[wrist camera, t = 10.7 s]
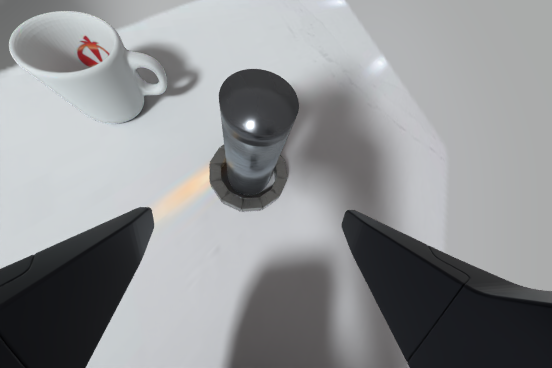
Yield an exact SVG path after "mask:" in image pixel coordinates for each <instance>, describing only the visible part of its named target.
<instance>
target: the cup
mask: <svg viewBox="0 0 552 368" xmlns="http://www.w3.org/2000/svg"><path fill="white" fill-rule="evenodd" d="M9 48H10V53H11V55H12V57H13V58H14V60H15V61H16V62H17V64H18V65H19V66H21V67H22V68H23V69H24V70H25V71H27V72H28V73H29V74H31V75H32V76H33V77H35V78H36V79H37V80H39V81H40V82H41V83H43V84H44V85H46V86H47V87H48V88H50V89H51V90H52V91H54V92H55V93H56V94H58V95H59V96H60V97H62V98H63V99H64V100H66V101H67V102H68V103H70V104H71V105H72V106H74V107H75V108H76V109H78V110H79V111H80V112H82V113H83V114H85V115H86V116H88V117H90V118H91V119H93V120H96V121H99V122H102V123H107V124H118V123H123V122H126V121H129V120H131V119H133V118H134V117H136V116H137V115H138V114H139V113H140V111H141V110H142V108H143V105H144V96H145V95H159V94H162V93H164V92H165V91H166V89H167V77H166V73H165V71H164V69H163V67H162V66H161V64H160V63H159V62H158V61H157V60H156V59H155V58H153V57H151V56H149V55H147V54H143V53H139V52H134V51H129V50H127V49H126V48H125V47H124V45H123V43H122V40H121V38H120V36H119V34H118V33H117V32H116V30H115V29H114V28H113V27H112V26H111V25H110V24H108V23H107V22H105V21H104V20H102V19H100V18H98V17H96V16H93V15H90V14H86V13H82V12H74V11H58V12H50V13H45V14H41V15H38V16H35V17H33V18H31V19H29V20H27V21H25V22H24V23H22V24H21V25H20V26H19V27H17V28H16V30H15V31H14V32H13V34H12V35H11V38H10V41H9ZM137 68H147V69H149V70H151V71H153V72H154V73H155V74H156V75H157V77H158V79H159V82H158V83H157V84H150V83H148V82H146V81H144V80H143V79H142V78H141V77H140V76H139V74H138V73H137V70H136V69H137Z"/></svg>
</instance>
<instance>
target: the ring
mask: <svg viewBox="0 0 552 368" xmlns="http://www.w3.org/2000/svg"><path fill="white" fill-rule="evenodd" d="M225 163H226V155H225V146H224V145H222V146H221V148H220V147H219V149H218V151H217V152H216V154H215V155H214V157H213V158H212V160H211V161H210V184H211V187H212V188H213V190H214V191H215V193H216V194H217V196H218V197H219V199H220V200H221V202H223V203H224V204H226V205H228V206H230V207H232V208H234V209H236V210H238V211H241V209H242V212H244V211H258V210H261V209H262V210H263V209H264V208H266V207H267V206H268V205H270V204H271V203H273V202H274V201H276V200H277V199H278V198H279V196H280V195H281V192H282V190H283V188H284V186H285V183H286V181H287V172H286V165H285V162H284V159H283V158H282V157H281V155H280V156H279V158H278V161H277V163H276V165H275V168H274V174H275V183H274V185H273V187H272V189H271V190H270V191H268V192H267V193H265V194H263V195H262V196H260V197H256V198H242V197H240V196H238V195H236V194H234V193H232V192H229V190H228V189H227V187H226V186H225V184H224V183H223V181H222V173H221V170H222V168H223V166H224V165H225Z"/></svg>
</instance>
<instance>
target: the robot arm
mask: <svg viewBox="0 0 552 368" xmlns="http://www.w3.org/2000/svg"><path fill="white" fill-rule="evenodd" d="M153 229H154V220H153V214H152V210H151V208H149V207H139V208H137V209H134V210H132V211H130V212H128V213H125V214H123V215H121V216H119V217H116V218H114V219H112V220H110V221H107V222H105V223H103V224H101V225H98V226H96V227H94V228H92V229H89V230H87V231H85V232H83V233H80V234H78V235H76V236H74V237H71V238H69V239H67V240H65V241H63V242H60V243H58V244H56V245H54V246H51V247H49V248H47V249H45V250H42V251H40V252H38V253H36V254H35V255H31V256H29V257H26V258H24V259H22V260H20V261H18V262H15V263H13V264H11V265H8V266H6V267H4V268H1V269H0V368H86V366H87V364H88V362H89V360H90V358H91V356H92V354H93V352H94V350H95V349H96V347H97V345H98V343H99V341H100V339H101V337H102V335H103V333H104V331H105V329H106V328H107V326H108V324H109V322H110V320H111V318H112V316H113V314H114V312H115V310H116V308H117V307H118V305H119V303H120V301H121V299H122V297H123V295H124V293H125V291H126V289H127V287H128V285H129V284H130V282H131V280H132V278H133V276H134V274H135V272H136V270H137V268H138V266H139V264H140V262H141V260H142V258H143V255H144V253H145V250H146V248H147V245H148V242H149V240H150V237H151V234H152V232H153ZM342 229H343V232H344V234H345V237H346V240H347V242H348V245H349V247H350V250H351V252H352V255H353V257H354V259H355V261H356V263H357V265H358V267H359V269H360V271H361V273H362V275H363V277H364V279H365V280H366V282H367V284H368V286H369V288H370V290H371V292H372V294H373V296H374V298H375V300H376V302H377V304H378V306H379V308H380V310H381V312H382V314H383V316H384V318H385V320H386V322H387V324H388V326H389V328H390V330H391V332H392V333H393V335H394V337H395V339H396V341H397V343H398V345H399V347H400V349H401V351H402V353H403V355H404V357H405V359H406V361H407V362H408V365H409V367H410V368H552V291H542V290H536V289H531V288H527V287H523V286H520V285H517V284H514V283H512V282H509V281H506V280H505V279H502V278H500V277H498V276H495V275H493V274H491V273H488V272H486V271H484V270H482V269H479V268H477V267H475V266H472V265H470V264H468V263H465V262H463V261H461V260H459V259H456V258H454V257H452V256H450V255H448V254H446V253H443V252H441V251H439V250H437V249H435V248H433V247H431V246H428V245H426V244H424V243H422V242H420V241H418V240H416V239H414V238H412V237H410V236H408V235H406V234H403V233H401V232H399V231H397V230H395V229H393V228H391V227H389V226H387V225H385V224H382V223H380V222H378V221H376V220H374V219H372V218H370V217H368V216H366V215H364V214H362V213H359V212H357V211H355V210H347V211H346V212H345V215H344V218H343V222H342Z"/></svg>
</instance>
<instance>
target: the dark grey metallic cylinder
mask: <svg viewBox="0 0 552 368" xmlns="http://www.w3.org/2000/svg"><path fill="white" fill-rule="evenodd" d="M219 103H220V112H221V120H222V129H223V137H224V146H225V155H226V163H227V172H228V180H229V183H230V185H231V187H232V188H233V189H234V190H235V191H236V192H238V193H240V194H242V195H248V196H250V195H256V194H258V193H260V192H262V191H263V190H264V189H265V188H266V186H267V184H268V182H269V179H270V177H271V175H272V172H273V170H274V168H275V165H276V163H277V161H278V158H279V156H280V154H281V151H282V149H283V147H284V144H285V142H286V140H287V137H288V135H289V133H290V130H291V128H292V126H293V123H294V121H295V119H296V116H297V113H298V109H299V103H298V98H297V95H296V93H295V91H294V89H293V88H292V87H291V85H290V84H289V83H288V82H287V81H285V80H284V79H283V78H281V77H280V76H278V75H276V74H274V73H272V72H269V71H266V70H260V69H246V70H242V71H239V72H236V73H234V74H232V75H231V76H229V77H228V78H227V79H226V80H225V81H224V83H223V84H222V86H221V88H220V92H219Z"/></svg>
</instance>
